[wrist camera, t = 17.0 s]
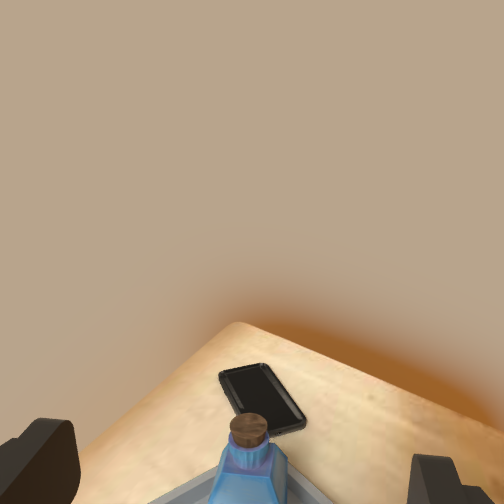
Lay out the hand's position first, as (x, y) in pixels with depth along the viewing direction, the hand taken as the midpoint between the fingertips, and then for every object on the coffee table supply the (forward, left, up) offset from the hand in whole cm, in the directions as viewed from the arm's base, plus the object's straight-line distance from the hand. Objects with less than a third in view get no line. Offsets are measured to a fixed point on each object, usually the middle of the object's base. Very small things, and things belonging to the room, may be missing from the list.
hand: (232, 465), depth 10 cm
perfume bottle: (-14, -19, -30) cm, 37 cm away
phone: (-27, -35, -31) cm, 53 cm away
